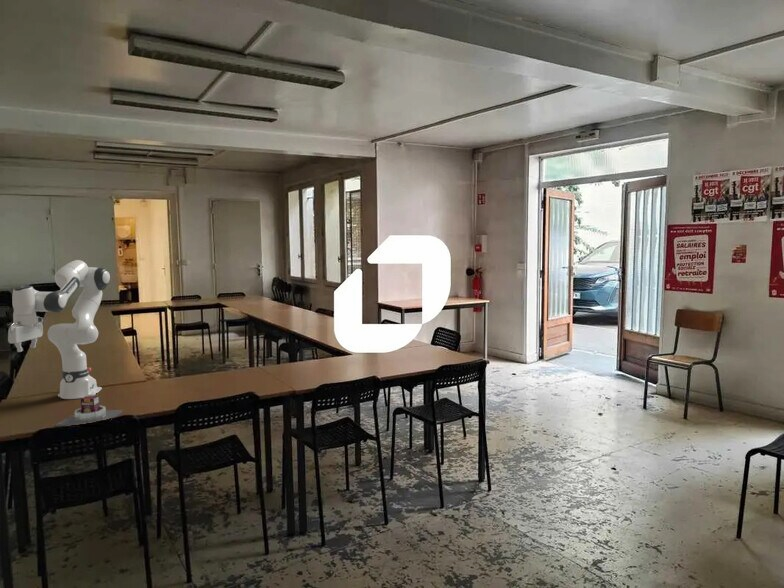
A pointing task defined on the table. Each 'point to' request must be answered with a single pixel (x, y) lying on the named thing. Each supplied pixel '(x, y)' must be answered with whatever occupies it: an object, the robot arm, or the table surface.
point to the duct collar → (89, 416)
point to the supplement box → (89, 404)
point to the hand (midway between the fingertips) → (26, 349)
